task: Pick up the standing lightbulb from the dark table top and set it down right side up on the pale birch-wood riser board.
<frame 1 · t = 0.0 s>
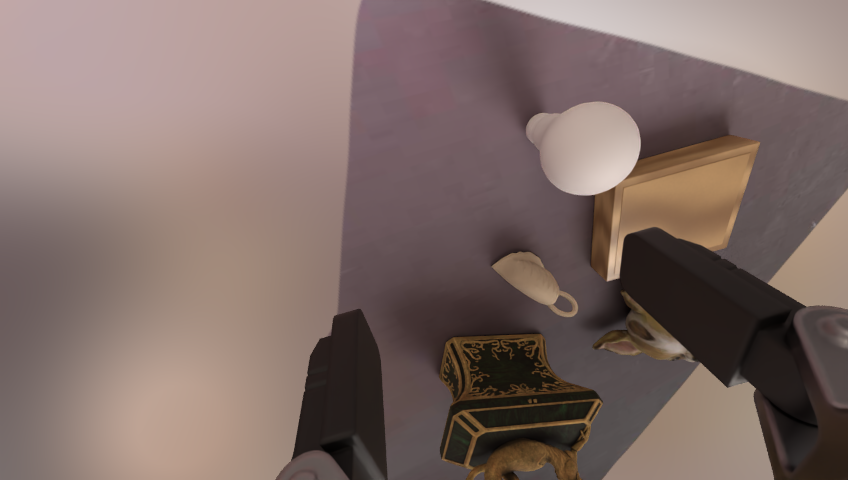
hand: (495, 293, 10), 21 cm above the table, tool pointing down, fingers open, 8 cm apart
decorative ornament: (523, 270, 38), on the table
lightbulb: (534, 125, 29), on the table
ceramic sculpture: (642, 307, 44), on the table
decorative box: (478, 354, 44), on the table
riser: (654, 205, 36), on the table
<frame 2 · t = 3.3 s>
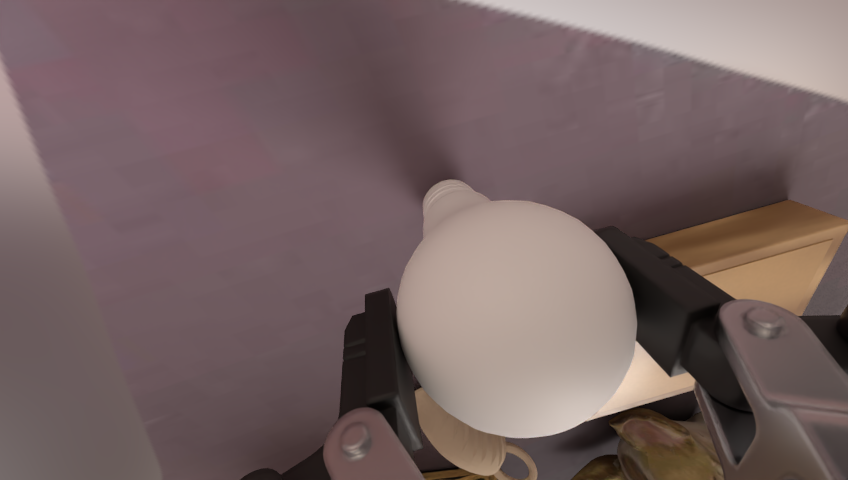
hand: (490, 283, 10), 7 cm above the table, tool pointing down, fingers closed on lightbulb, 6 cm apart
decorative ornament: (458, 396, 24), on the table
lightbulb: (444, 196, 16), on the table, touching gripper
ceramic sculpture: (642, 422, 31), on the table
riser: (661, 304, 22), on the table
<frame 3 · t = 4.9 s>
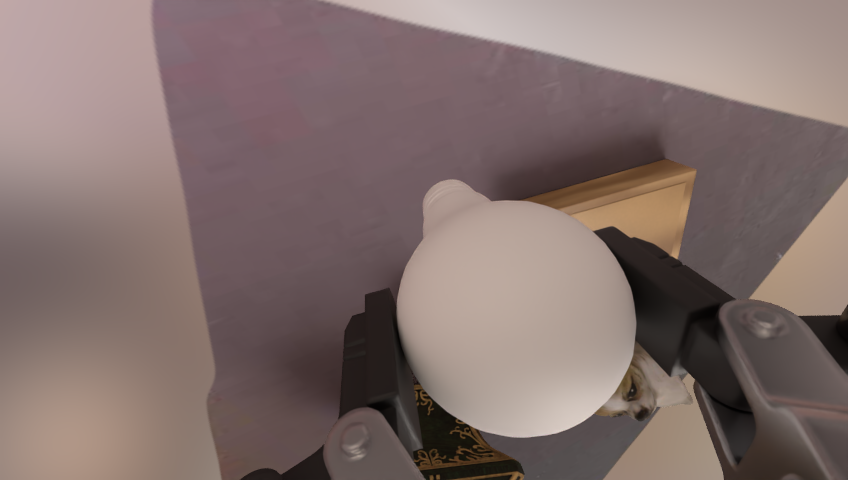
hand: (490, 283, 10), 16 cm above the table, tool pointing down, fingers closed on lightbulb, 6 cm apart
lightbulb: (444, 196, 16), point 9 cm above the table, touching gripper
ceramic sculpture: (588, 349, 39), on the table
decorative box: (400, 404, 38), on the table
riser: (584, 240, 30), on the table
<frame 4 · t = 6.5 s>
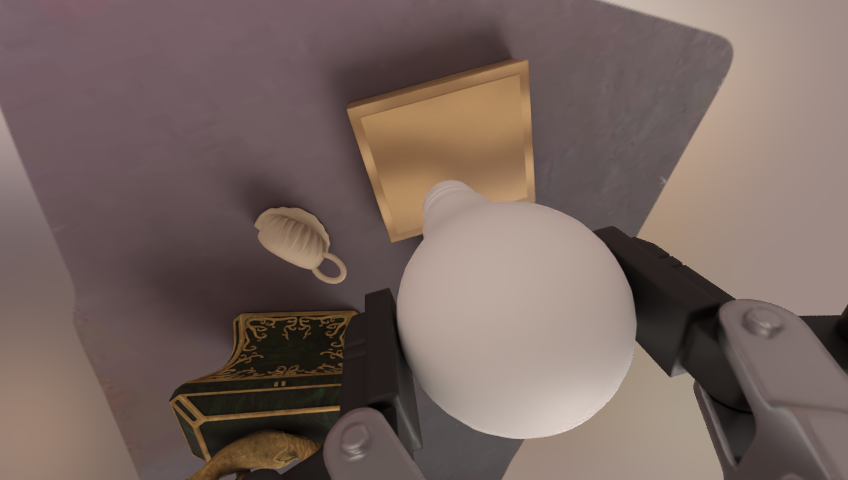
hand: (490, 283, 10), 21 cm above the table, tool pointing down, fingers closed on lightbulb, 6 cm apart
decorative ornament: (303, 232, 32), on the table
lightbulb: (444, 197, 16), point 15 cm above the table, touching gripper
decorative box: (288, 335, 38), on the table
riser: (444, 151, 30), on the table
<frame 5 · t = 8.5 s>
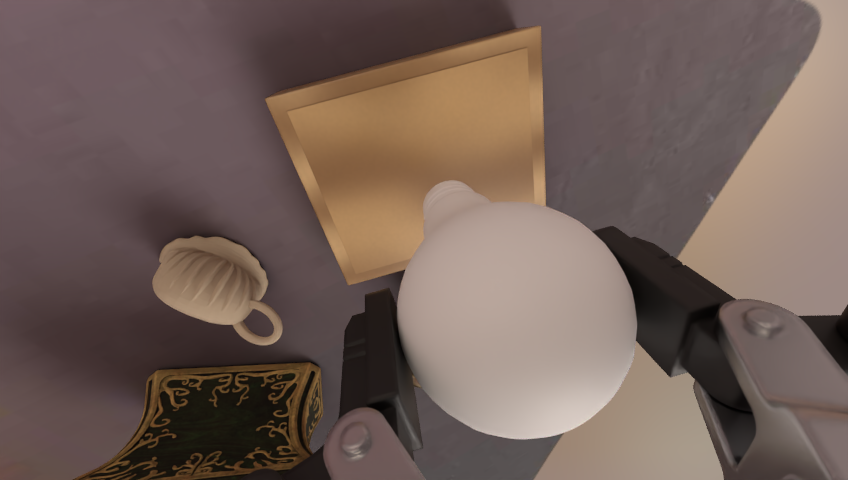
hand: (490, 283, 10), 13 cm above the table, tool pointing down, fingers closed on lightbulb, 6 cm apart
decorative ornament: (232, 267, 24), on the table
lightbulb: (444, 197, 16), point 7 cm above the table, touching gripper
decorative box: (225, 392, 30), on the table
riser: (421, 160, 22), on the table
when the fingers open (10 cm above the table, at t = 10.0 s): lightbulb stays where it is, resting on riser.
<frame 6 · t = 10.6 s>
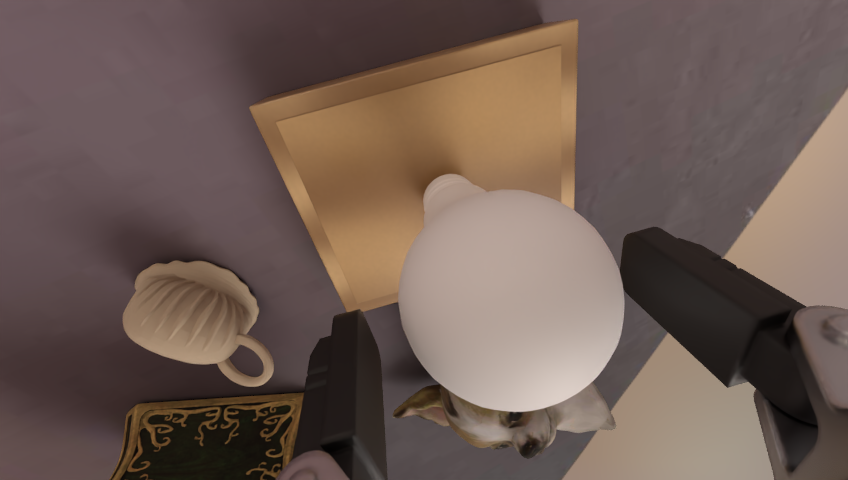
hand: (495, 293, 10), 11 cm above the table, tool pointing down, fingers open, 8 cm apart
decorative ornament: (218, 293, 21), on the table
lightbulb: (444, 191, 17), point 3 cm above the table, touching riser
ceramic sculpture: (482, 347, 28), on the table
decorative box: (215, 424, 27), on the table
riser: (432, 174, 19), on the table
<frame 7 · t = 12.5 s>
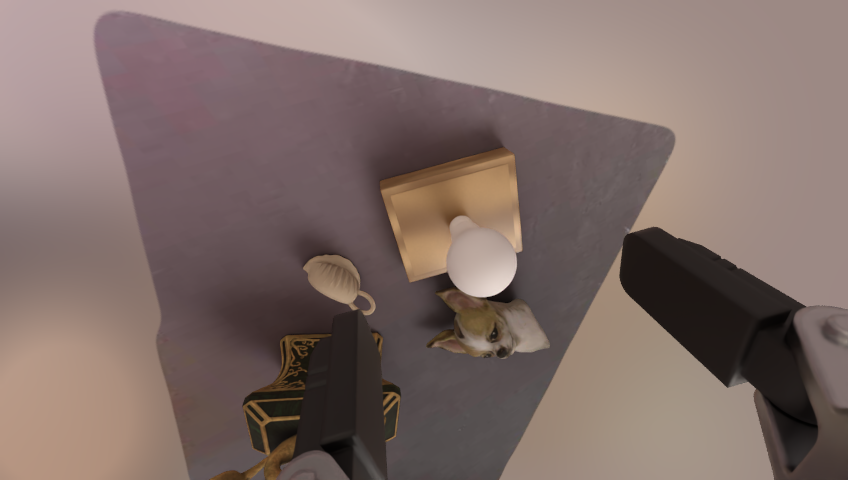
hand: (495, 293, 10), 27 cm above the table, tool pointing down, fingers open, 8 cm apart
decorative ornament: (339, 272, 41), on the table
lightbulb: (458, 222, 36), point 3 cm above the table, touching riser
ceramic sculpture: (478, 308, 47), on the table
decorative box: (321, 352, 46), on the table
riser: (451, 212, 39), on the table
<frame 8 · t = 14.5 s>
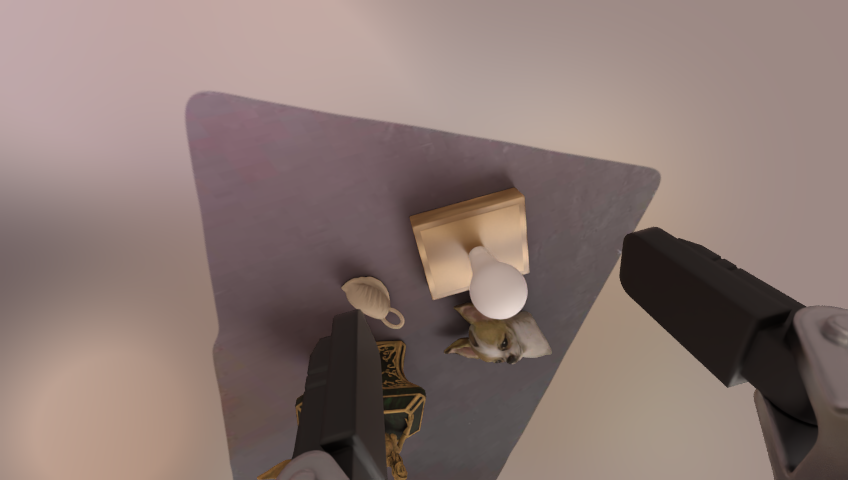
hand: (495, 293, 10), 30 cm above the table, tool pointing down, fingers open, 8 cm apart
decorative ornament: (371, 290, 47), on the table
lightbulb: (475, 250, 43), point 3 cm above the table, touching riser
ceramic sculpture: (489, 319, 54), on the table
decorative box: (352, 358, 53), on the table
riser: (469, 240, 45), on the table
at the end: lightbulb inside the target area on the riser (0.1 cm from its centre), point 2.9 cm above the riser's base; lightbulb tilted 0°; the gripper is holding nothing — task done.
